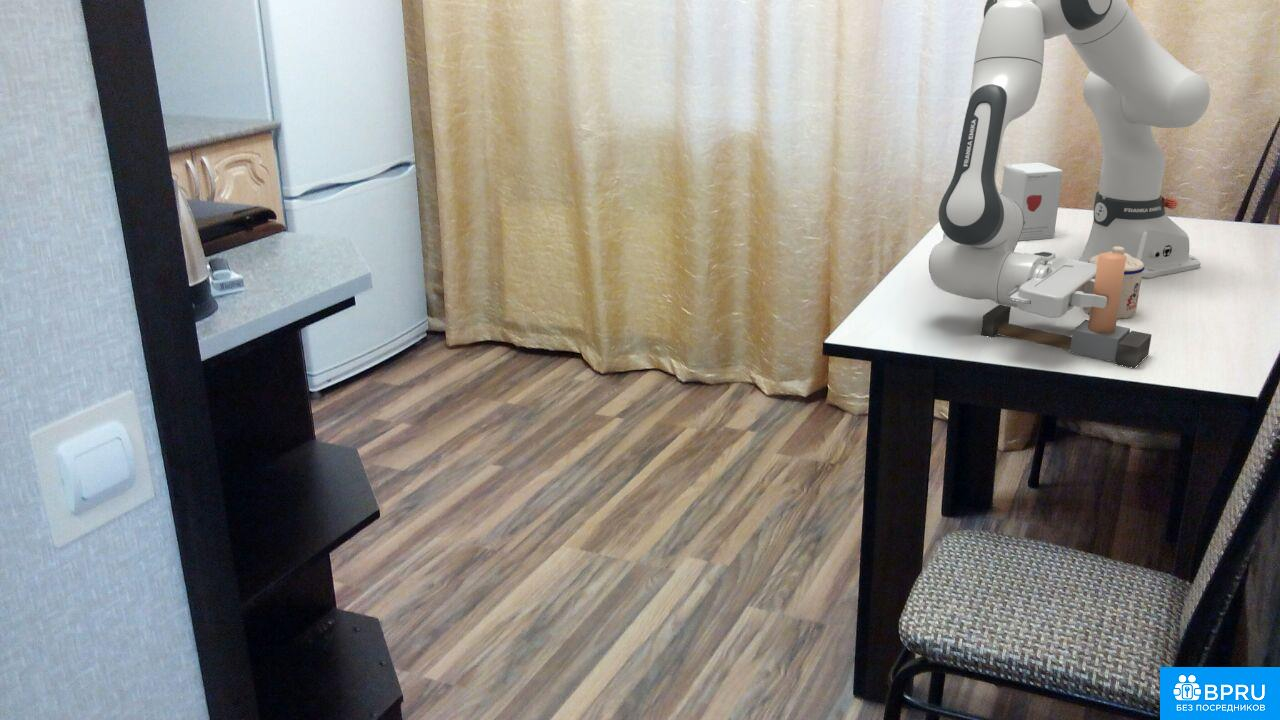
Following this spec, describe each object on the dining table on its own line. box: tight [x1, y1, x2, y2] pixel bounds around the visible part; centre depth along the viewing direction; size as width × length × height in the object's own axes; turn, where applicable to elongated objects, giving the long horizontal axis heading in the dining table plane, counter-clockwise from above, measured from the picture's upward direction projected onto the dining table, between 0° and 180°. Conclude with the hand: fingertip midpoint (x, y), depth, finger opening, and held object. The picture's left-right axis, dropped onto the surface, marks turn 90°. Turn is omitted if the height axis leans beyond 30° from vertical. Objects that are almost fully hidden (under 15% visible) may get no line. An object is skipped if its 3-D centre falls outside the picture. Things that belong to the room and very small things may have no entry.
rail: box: [980, 304, 1152, 369], centre depth 178 cm, size 25×7×4 cm, turn 51°
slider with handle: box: [1069, 253, 1131, 363], centre depth 172 cm, size 7×6×16 cm
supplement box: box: [1000, 162, 1064, 242], centre depth 237 cm, size 9×9×15 cm
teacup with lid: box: [1082, 246, 1144, 320], centre depth 192 cm, size 12×9×12 cm
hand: (1112, 297), depth 171 cm, fingers closed on slider with handle, 4 cm apart
